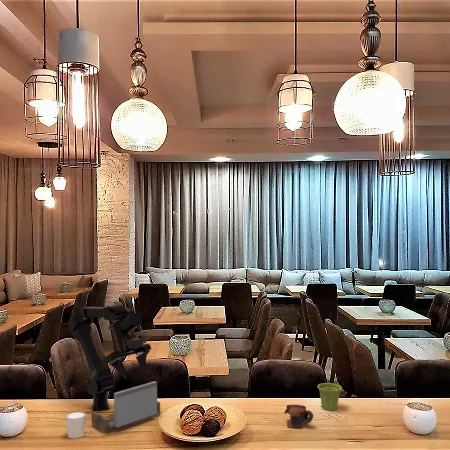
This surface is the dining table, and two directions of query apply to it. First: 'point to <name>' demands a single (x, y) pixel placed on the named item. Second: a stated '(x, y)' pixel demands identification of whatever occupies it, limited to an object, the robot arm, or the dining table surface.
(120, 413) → the panel
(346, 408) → the dining table surface
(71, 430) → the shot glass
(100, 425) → the tray
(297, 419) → the pottery mug
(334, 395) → the plant pot
